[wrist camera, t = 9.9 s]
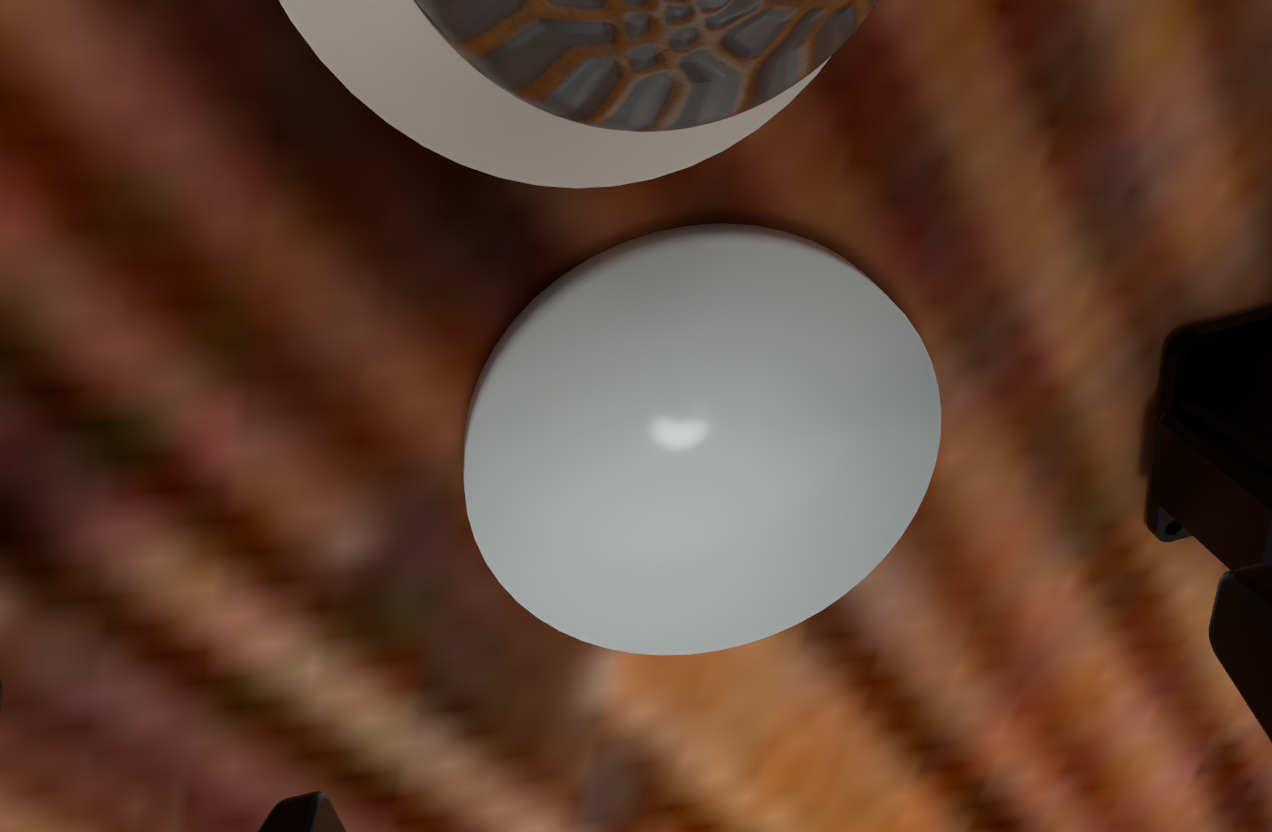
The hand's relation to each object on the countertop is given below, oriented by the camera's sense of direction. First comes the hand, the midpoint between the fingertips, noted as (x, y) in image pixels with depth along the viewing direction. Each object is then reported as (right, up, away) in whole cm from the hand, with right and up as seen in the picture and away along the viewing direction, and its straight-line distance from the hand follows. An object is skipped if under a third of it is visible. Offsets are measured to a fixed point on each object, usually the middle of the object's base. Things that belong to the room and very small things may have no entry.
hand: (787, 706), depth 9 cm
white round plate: (0, +2, +13) cm, 13 cm away
